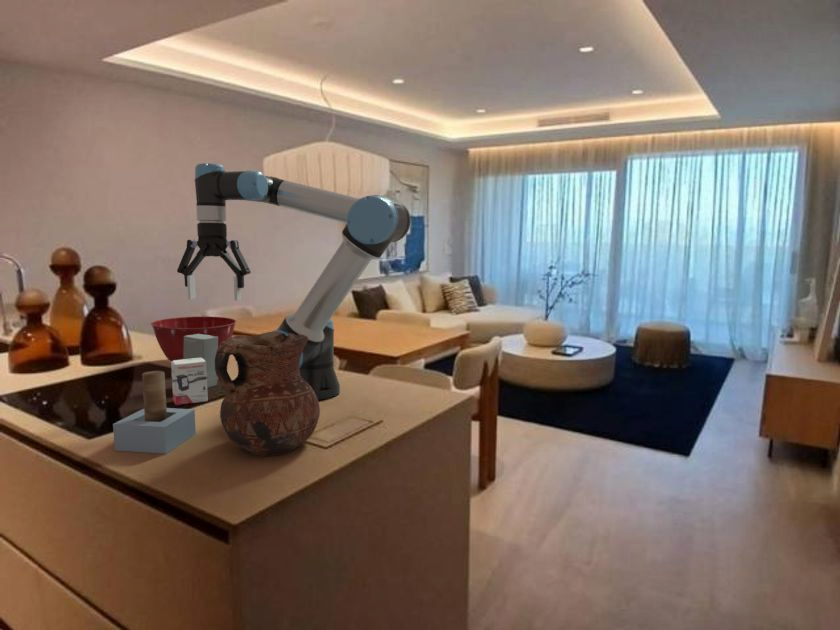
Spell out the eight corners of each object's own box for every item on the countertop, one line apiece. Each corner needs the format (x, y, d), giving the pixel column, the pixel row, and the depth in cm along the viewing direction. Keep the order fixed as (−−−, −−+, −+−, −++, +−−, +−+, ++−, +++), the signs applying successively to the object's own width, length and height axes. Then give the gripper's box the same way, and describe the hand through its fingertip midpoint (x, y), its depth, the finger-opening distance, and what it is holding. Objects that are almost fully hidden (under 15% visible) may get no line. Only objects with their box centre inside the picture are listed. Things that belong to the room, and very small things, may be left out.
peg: (172, 438, 126) (168, 371, 124) (160, 446, 122) (156, 376, 119) (154, 437, 127) (150, 370, 124) (141, 445, 122) (137, 375, 120)
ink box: (175, 405, 150) (173, 364, 148) (172, 401, 154) (170, 360, 152) (208, 401, 154) (206, 360, 153) (204, 396, 159) (202, 357, 157)
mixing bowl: (218, 351, 219) (217, 313, 217) (250, 364, 198) (249, 322, 196) (143, 361, 200) (140, 320, 198) (169, 377, 179) (167, 330, 177)
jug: (265, 423, 137) (262, 325, 134) (337, 435, 129) (336, 332, 126) (199, 455, 117) (193, 340, 113) (279, 472, 109) (276, 350, 106)
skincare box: (182, 386, 168) (179, 336, 166) (199, 381, 175) (197, 332, 172) (203, 390, 165) (201, 338, 163) (220, 384, 172) (218, 334, 169)
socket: (195, 433, 129) (194, 409, 128) (166, 453, 117) (164, 427, 117) (148, 431, 131) (147, 406, 130) (114, 450, 119) (112, 424, 118)
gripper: (261, 223, 152) (263, 299, 155) (176, 222, 155) (180, 296, 158) (249, 222, 144) (251, 302, 147) (161, 221, 147) (165, 299, 150)
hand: (214, 299), depth 152 cm, fingers open, 13 cm apart
